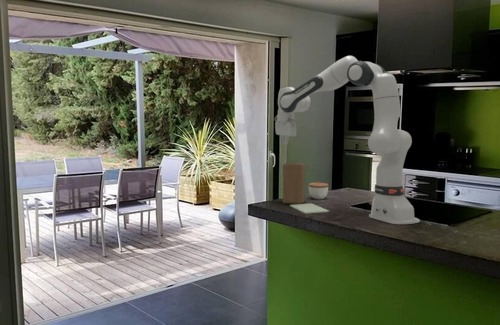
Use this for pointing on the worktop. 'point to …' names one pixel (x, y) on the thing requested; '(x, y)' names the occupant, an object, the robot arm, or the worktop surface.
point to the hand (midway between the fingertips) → (285, 144)
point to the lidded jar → (318, 190)
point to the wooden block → (294, 183)
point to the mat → (309, 208)
